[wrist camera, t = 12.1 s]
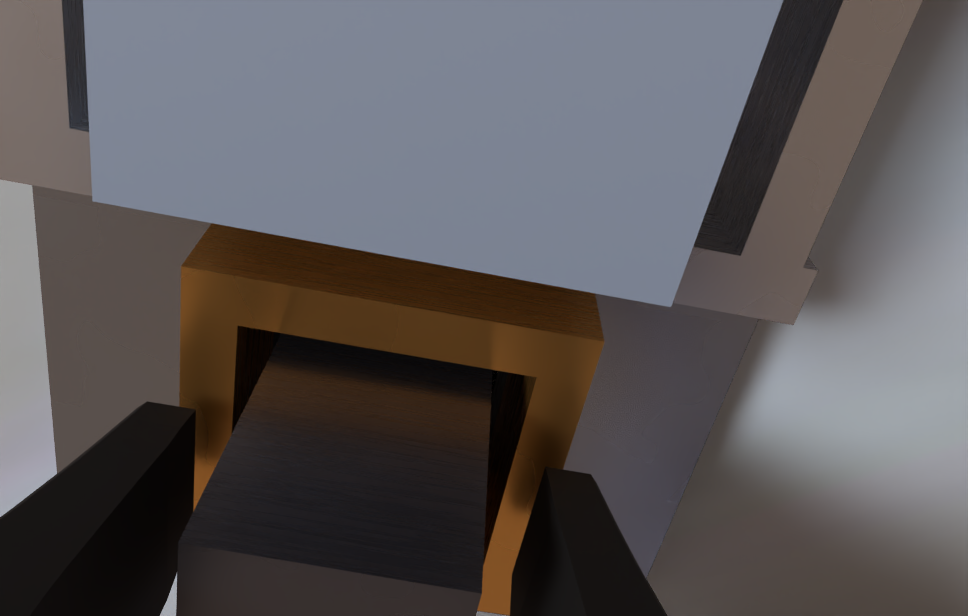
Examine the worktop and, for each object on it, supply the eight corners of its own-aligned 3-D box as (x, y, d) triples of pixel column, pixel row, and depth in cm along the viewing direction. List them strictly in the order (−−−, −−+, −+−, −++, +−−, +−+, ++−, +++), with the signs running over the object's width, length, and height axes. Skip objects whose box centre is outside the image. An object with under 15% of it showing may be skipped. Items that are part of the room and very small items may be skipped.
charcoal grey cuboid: (467, 400, 15) (432, 772, 9) (314, 372, 15) (173, 732, 9) (497, 265, 14) (481, 593, 8) (331, 233, 14) (177, 542, 7)
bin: (615, 585, 18) (640, 747, 15) (91, 504, 17) (-2, 660, 14) (1058, -499, 9) (1353, -668, 6) (12, -795, 8) (-295, -1181, 5)
